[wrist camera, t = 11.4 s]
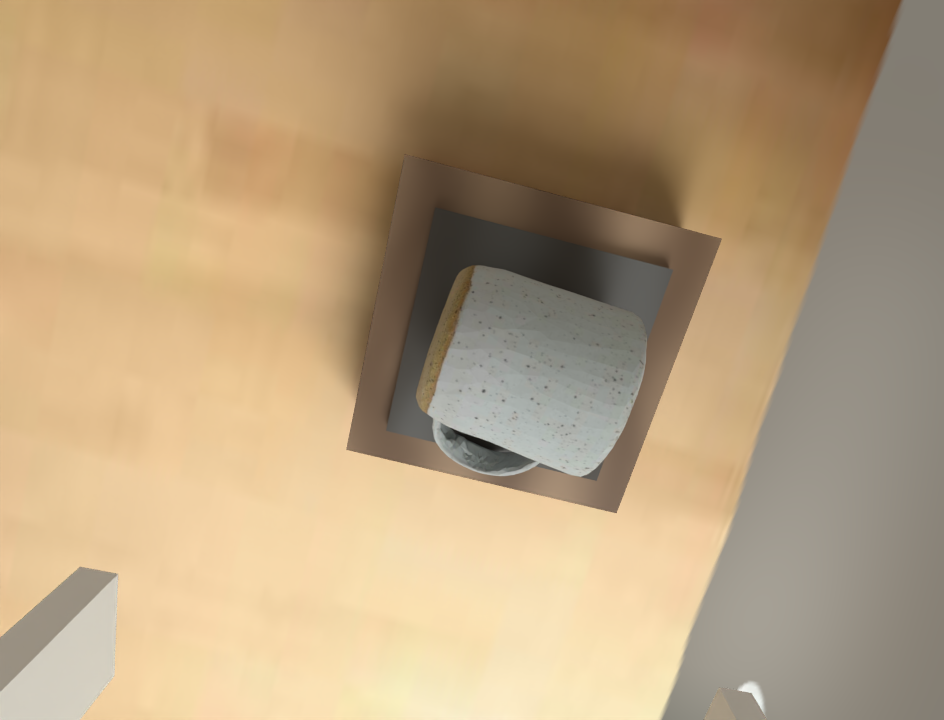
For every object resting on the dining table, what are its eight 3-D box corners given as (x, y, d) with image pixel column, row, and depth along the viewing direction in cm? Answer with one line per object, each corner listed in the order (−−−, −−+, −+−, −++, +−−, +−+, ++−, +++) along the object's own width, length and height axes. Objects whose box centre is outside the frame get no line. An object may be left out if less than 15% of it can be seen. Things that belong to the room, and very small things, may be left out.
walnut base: (366, 415, 33) (343, 454, 27) (418, 165, 28) (402, 152, 23) (597, 470, 33) (619, 519, 28) (682, 235, 29) (727, 239, 24)
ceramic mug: (463, 248, 24) (453, 265, 17) (620, 300, 24) (677, 339, 17) (404, 435, 27) (374, 520, 20) (544, 478, 28) (566, 576, 20)
